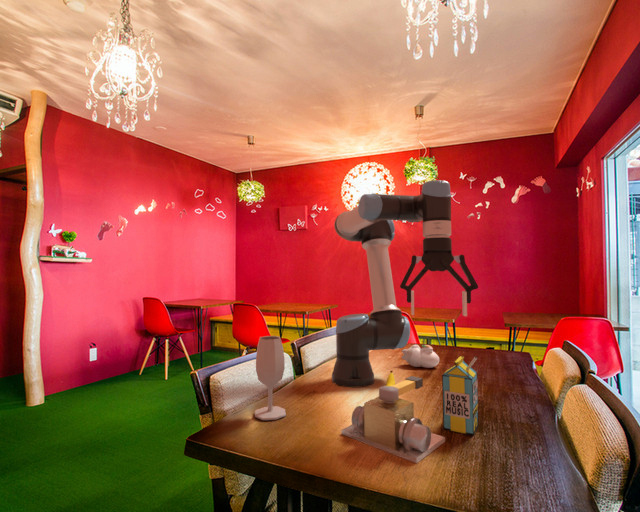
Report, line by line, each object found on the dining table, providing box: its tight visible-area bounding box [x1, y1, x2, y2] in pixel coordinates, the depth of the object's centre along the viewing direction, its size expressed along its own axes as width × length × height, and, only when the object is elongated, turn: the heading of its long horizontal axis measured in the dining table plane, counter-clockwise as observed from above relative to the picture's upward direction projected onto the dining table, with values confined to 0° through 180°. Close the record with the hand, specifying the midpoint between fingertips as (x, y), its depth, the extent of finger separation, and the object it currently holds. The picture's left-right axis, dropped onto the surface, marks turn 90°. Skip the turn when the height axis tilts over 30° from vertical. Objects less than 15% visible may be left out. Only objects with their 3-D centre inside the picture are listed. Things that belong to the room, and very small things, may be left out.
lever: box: [378, 375, 424, 401], centre depth 88 cm, size 15×4×2 cm, turn 136°
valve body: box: [340, 396, 446, 464], centre depth 87 cm, size 20×13×10 cm, turn 46°
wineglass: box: [254, 335, 287, 421], centre depth 101 cm, size 9×9×21 cm
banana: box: [385, 370, 396, 386], centre depth 112 cm, size 3×19×6 cm, turn 162°
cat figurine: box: [401, 344, 440, 369], centre depth 151 cm, size 10×8×15 cm
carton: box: [441, 356, 479, 437], centre depth 92 cm, size 7×8×18 cm
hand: (438, 315), depth 101 cm, fingers open, 13 cm apart
